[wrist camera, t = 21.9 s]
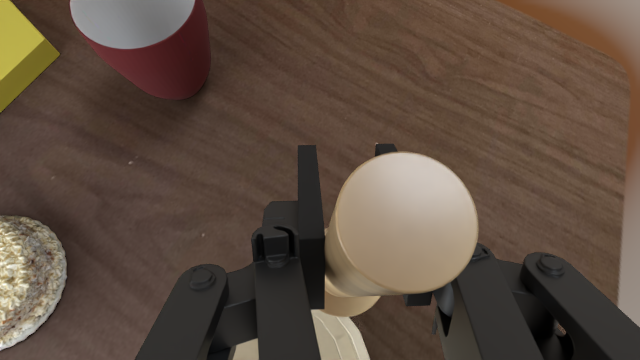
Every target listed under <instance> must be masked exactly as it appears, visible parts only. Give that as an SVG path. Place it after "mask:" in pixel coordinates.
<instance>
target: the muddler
mask: <svg viewBox="0 0 640 360" xmlns="http://www.w3.org/2000/svg"><path fill="white" fill-rule="evenodd" d="M324 230H325V246H324V254H325V309H319V310H320V311H321V312H323V313H326V314H328V315H331V316H335V317H351V316H355V315H358V314H361V313H363V312H365V311H366V310H368V309H369V308H371V307H372V306H373V305H374V304H375V303H376V302H377V300H378V299H379V298H380V296H384V295H403V294H418V293H426V292H430V291H434V290H436V289H438V288H441V287H443V286H445V285H446V284H448V283H450V282H451V281H452V280H454V279H455V278H456V277H457V276H458V275H459V274H460V273H461V272H462V271H463V270H464V269H465V267H466V266H467V264H468V263H469V261H470V259H471V257H472V255H473V253H474V250H475V247H476V244H477V238H478V216H477V212H476V207H475V204H474V202H473V199H472V197H471V195H470V193H469V191H468V189H467V188H466V186H465V185H464V183H463V182H462V181H461V179H460V178H459V177H458V176H457V175H456V174H455V173H454V172H453V171H452V170H451V169H449V168H448V167H447V166H445V165H444V164H442V163H441V162H439V161H437V160H435V159H433V158H431V157H428V156H425V155H422V154H419V153H413V152H390V153H386V154H382V155H379V156H376V157H374V158H372V159H370V160H368V161H366V162H365V163H363V164H362V165H360V166H359V167H358V168H357V169H356V170H355V171H353V173H352V174H351V175H350V176H349V177H348V179H347V180H346V182H345V183H344V185H343V187H342V189H341V191H340V193H339V196H338V199H337V202H336V206H335V209H334V212H333V215H332V218H331V221H330V224H329V227H328V228H326V229H324Z"/></svg>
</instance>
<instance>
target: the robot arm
mask: <svg viewBox="0 0 640 360" xmlns="http://www.w3.org/2000/svg"><path fill="white" fill-rule="evenodd" d="M390 152H398V151H397V149H396V147H395V146H394V144H376V149H375V157H376V156H379V155H382V154H386V153H390ZM251 241H252V251H253V261H254V262H252V263H251V264H250V265H249V266H247V267H245V268H243V269H240V270H237V271H234V272H230V273H226V272H225V270H224V269H223V268H221V267H220V266H218V265H213V264H203V265H198V266H195V267H192V268H190V269H189V270H187V271H185V272H184V273H183V274H182V275H181V276H180V278H179V279H178V280H177V282H176V284H175V286H174V288H173V290H172V292H171V293H170V295H169V297H168V299H167V301H166V303H165V304H164V306H163V308H162V310H161V312H160V314H159V316H158V317H157V319H156V321H155V323H154V325H153V327H152V328H151V330H150V332H149V334H148V336H147V338H146V340H145V341H144V343H143V345H142V347H141V349H140V351H139V352H138V354H137V356H136V358H135V360H233V357H234V354H235V351H236V345H239V344H242V343H245V342H248V341H251V340H254V339H257V338H258V354H259V360H321V355H320V350H319V346H318V341H317V336H316V332H315V327H314V322H313V318H312V313H311V310H319V309H325V254H324V246H325V230H324V221H323V211H322V201H321V191H320V182H319V172H318V162H317V152H316V145H298V201H272V202H270V203H269V205H268V206H267V207H266V208H265V209H264V216H263V223H262V227H260V228H258V229H257V230H256V231H255V232H254V233H253V235H252V239H251ZM432 292H433V294H434V296H435V299H436V301H437V306H436V311H435V316H434V321H433V327H432V334H435V335H436V330H437V327H438V331H439V335H440V340H441V344H442V349H443V353H444V357H445V360H640V327H638V326H637V325H636V324H635V323H634V322H633V321H632V320H631V319H630V318H629V317H627V316H626V315H625V314H624V313H623V312H622V311H621V310H620V309H619V308H618V307H617V306H616V305H614V304H613V303H612V302H611V301H610V300H609V299H608V298H607V297H606V296H605V295H604V294H603V293H601V292H600V291H599V290H598V289H597V288H596V287H595V286H594V285H593V284H592V283H591V282H589V281H588V280H587V279H586V278H585V277H584V276H583V275H582V274H581V273H580V272H579V271H577V270H576V269H575V268H574V267H573V266H572V265H571V264H569V263H568V262H567V261H565V260H564V259H562V258H560V257H557V256H555V255H552V254H548V253H537V252H535V253H531V254H528V255H527V256H526V257H525V259H524V262H523V264H519V263H513V262H508V261H503V260H499V259H496V258H495V256H494V254H493V253H492V252H491V251H490V249H488V248H487V247H485V246H484V245H482V244H480V243H477V244H476V247H475V250H474V253H473V255H472V257H471V259H470V261H469V263H468V264H467V266H466V267H465V269H464V270H463V271H462V272H461V273H460V274H459V275H458V276H457V277H456V278H455V279H454V280H452V281H451V282H450V283H448V284H446V285H445V286H443V287H441V288H438V289H436V290H434V291H430V292H426V293H418V294H403V297H404V301H405V304H406V306H426V305H430V303H431V298H432ZM558 323H559V324H560V325H561V326H562V327H563V328H564V329H565V331H566V334H565V335H564V334H563V333H562V332H561V331H560V330H559V329H558V328H557V326H558Z"/></svg>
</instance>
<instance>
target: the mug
mask: <svg viewBox="0 0 640 360" xmlns="http://www.w3.org/2000/svg"><path fill="white" fill-rule="evenodd" d="M69 11H70V15H71V18H72V21H73V23H74V25H75V26H76V28H77V30H78V31H79V32H80V33H81V35H82V36H83V37H84V39H85V40H86V41H87V42H88V44H89V45H90V46H91V47H92V48H93V50H94V51H95V52H96V53H97V54H98V55H99V56H100V57H101V58H102V59H103V60H104V61H105V62H106V63H107V64H109V65H110V66H111V67H112V68H114V69H115V70H116V71H118V72H119V73H120V74H122V75H123V76H124V77H125V78H127V79H128V80H129V81H131V82H132V83H133V84H135V85H136V86H137V87H139V88H140V89H142V90H143V91H145V92H146V93H148V94H150V95H153V96H156V97H159V98H164V99H172V100H183V99H187V98H189V97H191V96H193V95H195V94H196V93H197V92H198V91H199V90H200V88H201V87H202V85H203V84H204V82H205V80H206V78H207V76H208V73H209V70H210V65H211V52H210V42H209V31H208V21H207V15H206V11H205V7H204V3H203V0H69Z"/></svg>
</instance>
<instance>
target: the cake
mask: <svg viewBox="0 0 640 360" xmlns="http://www.w3.org/2000/svg"><path fill="white" fill-rule="evenodd" d="M66 261H67V260H66V258H65V251H64V248H62V245H61V242H60V241H59V240H58V238H57V237H56V235H55V233H54V232H52V231H51V230H50V229H49V227H48V226H47V225H43V224H42V223H41V222H40V221H37V220H32V219H31V218H29V217H21V216H17V215H15V216H8V215H5V216H0V351H1V350H2V349H4V348H7V347H11V346H13V345H14V344H16V343H17V342H18V341H19V342H20V341H22V340H24V339H25V338H26V337H27V336H28V335H30V334H32V333H33V332H35V330H36V329H38V327H39V326H40V325H41V324H42V323H44V322H45V321H46V320H47V318H48V317H49V315H50V314H51V313H52V312H53V310H54V309H55V306H56V304H57V303H58V301H59V300H60V299H61V294H62V290H63V288H64V287H65V280H66V278H67V275H66V274H67V271H66V268H67V267H66V266H67V262H66Z"/></svg>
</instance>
